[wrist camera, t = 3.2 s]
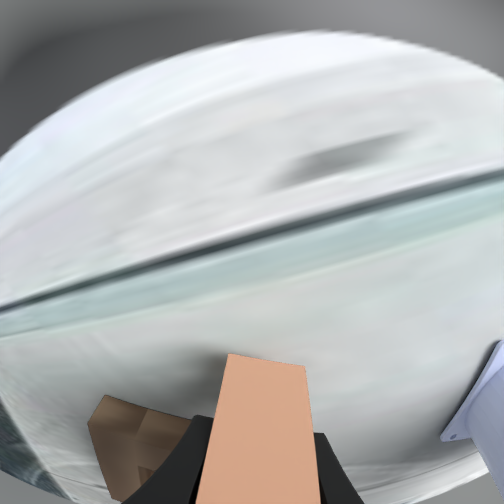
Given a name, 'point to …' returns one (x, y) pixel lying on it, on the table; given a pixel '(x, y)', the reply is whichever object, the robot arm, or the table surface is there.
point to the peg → (261, 437)
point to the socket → (132, 443)
